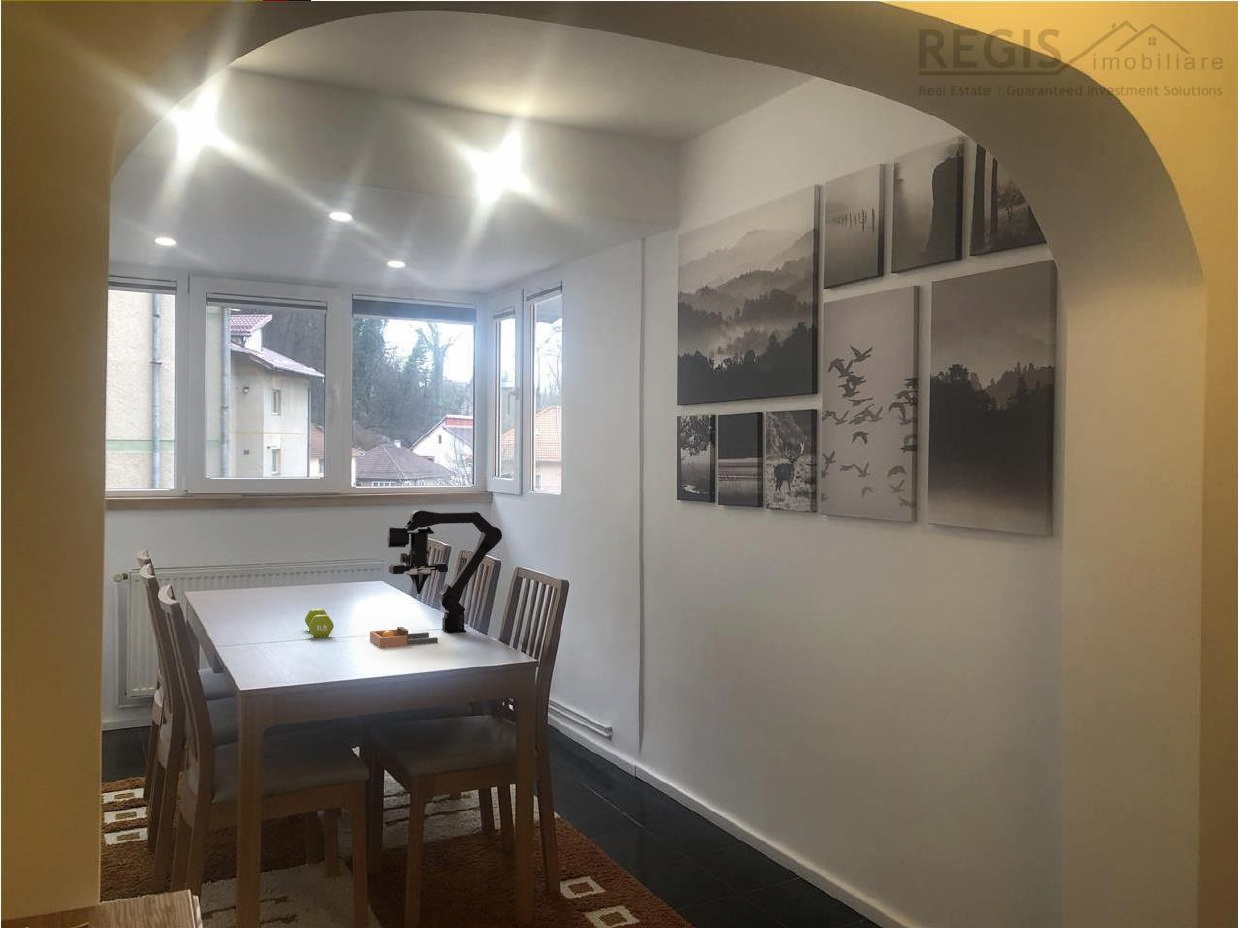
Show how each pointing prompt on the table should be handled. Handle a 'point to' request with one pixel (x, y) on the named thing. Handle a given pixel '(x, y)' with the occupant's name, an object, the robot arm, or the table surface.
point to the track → (422, 639)
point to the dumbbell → (319, 623)
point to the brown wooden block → (402, 632)
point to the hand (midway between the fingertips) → (418, 593)
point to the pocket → (387, 639)
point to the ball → (388, 634)
